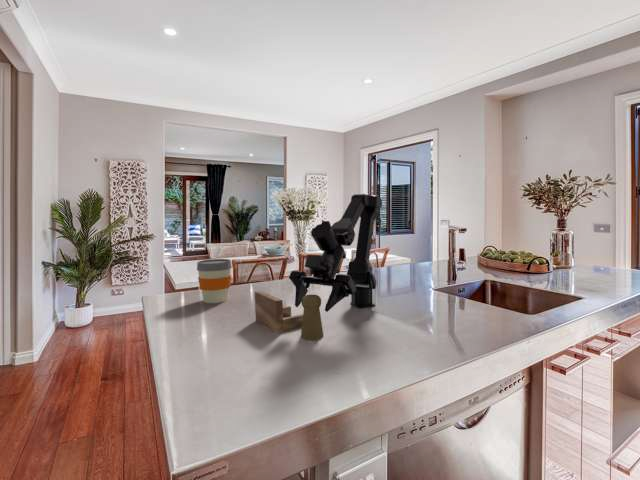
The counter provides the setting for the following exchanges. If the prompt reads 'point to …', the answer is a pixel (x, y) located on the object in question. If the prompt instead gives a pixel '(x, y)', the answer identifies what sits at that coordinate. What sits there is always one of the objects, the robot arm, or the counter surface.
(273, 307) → the post bracket
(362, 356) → the counter surface
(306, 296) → the cork
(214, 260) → the reusable coffee cup
